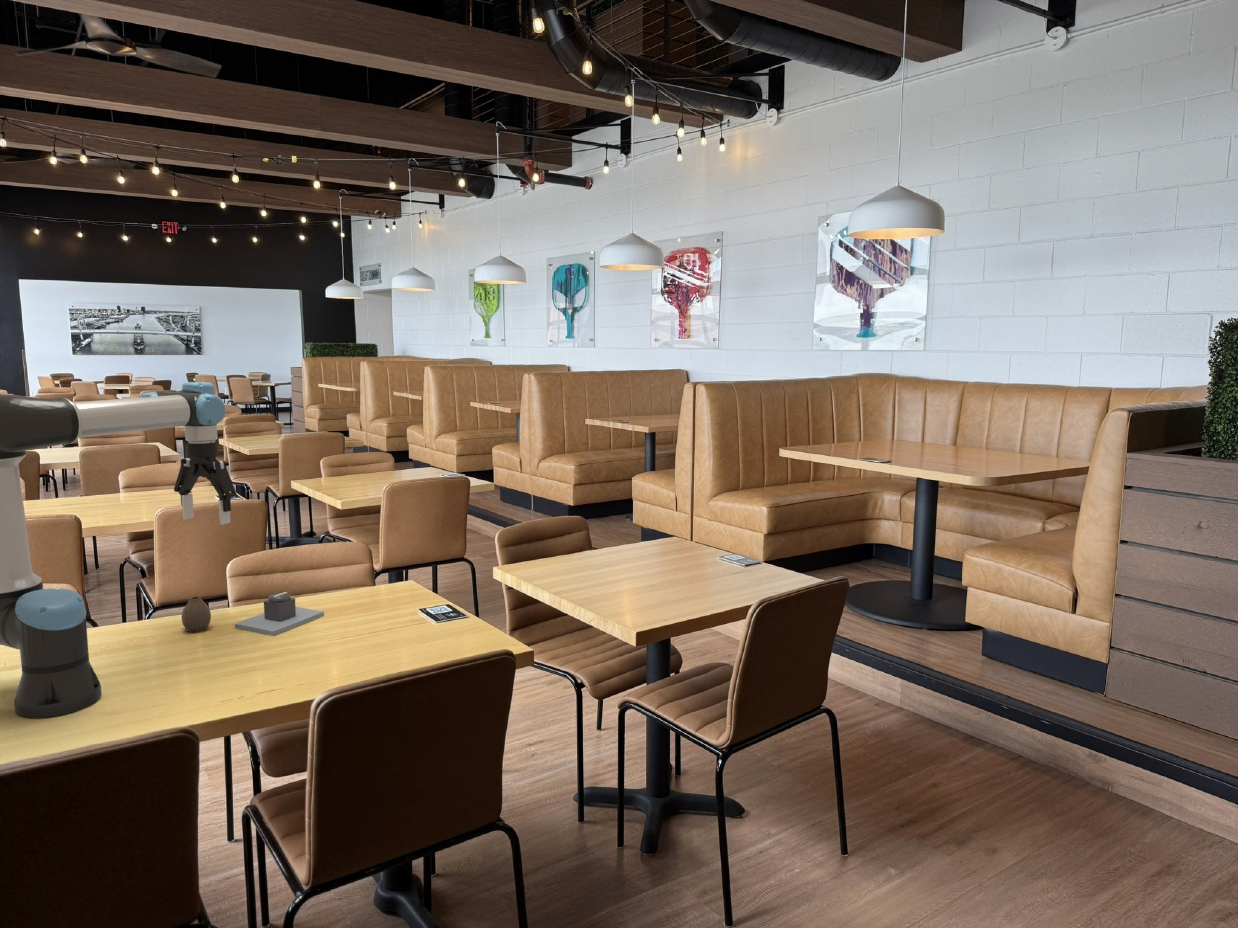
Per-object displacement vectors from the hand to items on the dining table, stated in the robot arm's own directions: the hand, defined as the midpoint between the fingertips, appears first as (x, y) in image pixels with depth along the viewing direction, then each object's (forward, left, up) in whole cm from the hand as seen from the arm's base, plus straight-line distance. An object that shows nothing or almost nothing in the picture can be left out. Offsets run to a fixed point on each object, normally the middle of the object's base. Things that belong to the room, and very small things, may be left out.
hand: (206, 521), depth 216 cm
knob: (+10, -14, -27) cm, 32 cm away
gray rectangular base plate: (+10, -14, -29) cm, 33 cm away
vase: (-4, +1, -29) cm, 29 cm away
